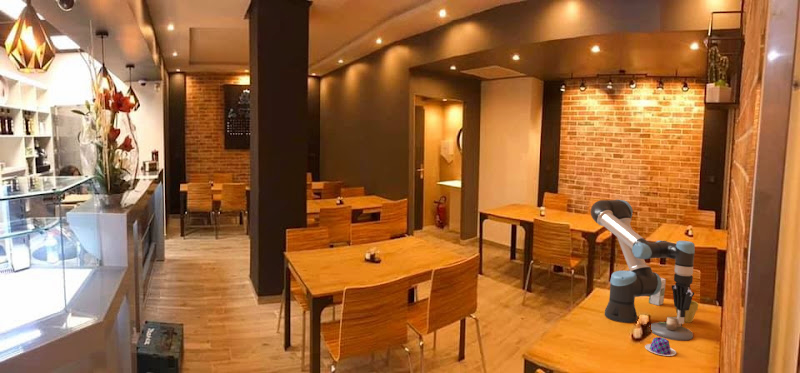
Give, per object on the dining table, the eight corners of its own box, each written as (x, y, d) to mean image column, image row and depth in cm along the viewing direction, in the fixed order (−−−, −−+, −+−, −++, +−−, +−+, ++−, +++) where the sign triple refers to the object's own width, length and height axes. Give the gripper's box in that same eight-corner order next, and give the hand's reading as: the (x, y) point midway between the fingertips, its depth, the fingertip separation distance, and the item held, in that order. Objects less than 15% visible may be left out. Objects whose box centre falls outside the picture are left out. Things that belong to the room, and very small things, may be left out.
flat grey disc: (662, 340, 221) (662, 336, 221) (642, 325, 239) (642, 321, 239) (701, 341, 221) (701, 336, 221) (678, 325, 239) (678, 321, 239)
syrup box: (652, 301, 276) (654, 276, 275) (663, 304, 272) (665, 278, 270) (648, 303, 273) (650, 277, 271) (659, 306, 268) (661, 280, 267)
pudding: (646, 343, 218) (647, 331, 218) (676, 349, 212) (677, 338, 211) (643, 352, 208) (644, 340, 207) (675, 360, 202) (676, 347, 201)
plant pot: (676, 322, 243) (678, 303, 243) (670, 315, 253) (671, 297, 253) (699, 325, 241) (701, 306, 240) (692, 317, 251) (694, 299, 250)
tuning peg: (672, 330, 227) (673, 320, 227) (664, 327, 231) (665, 317, 230) (684, 327, 232) (685, 317, 231) (676, 324, 235) (677, 314, 235)
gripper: (700, 277, 222) (697, 327, 224) (682, 270, 235) (679, 318, 237) (685, 277, 222) (681, 328, 223) (667, 270, 234) (664, 318, 236)
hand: (680, 323), depth 230 cm, fingers closed
